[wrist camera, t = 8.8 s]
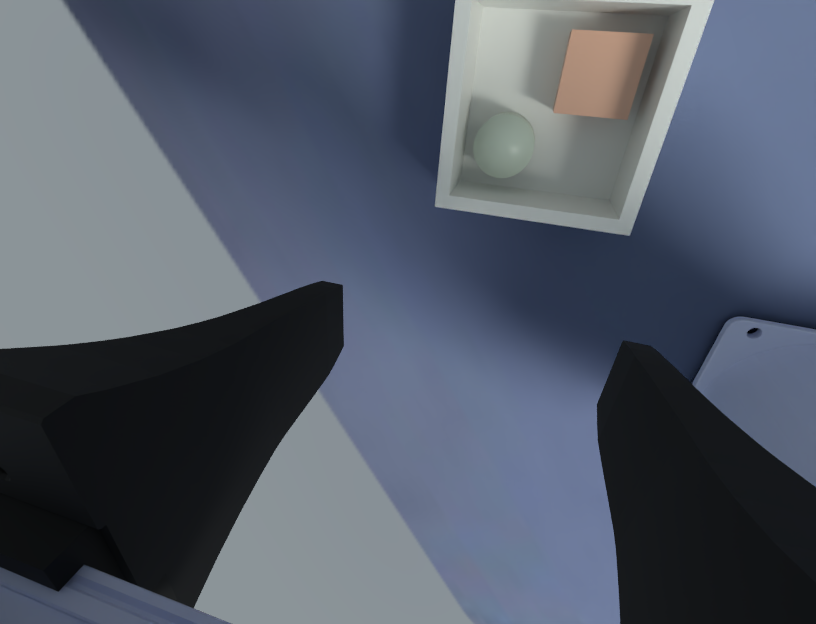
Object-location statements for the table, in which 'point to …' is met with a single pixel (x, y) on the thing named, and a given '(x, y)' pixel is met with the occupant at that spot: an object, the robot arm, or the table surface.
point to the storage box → (562, 106)
